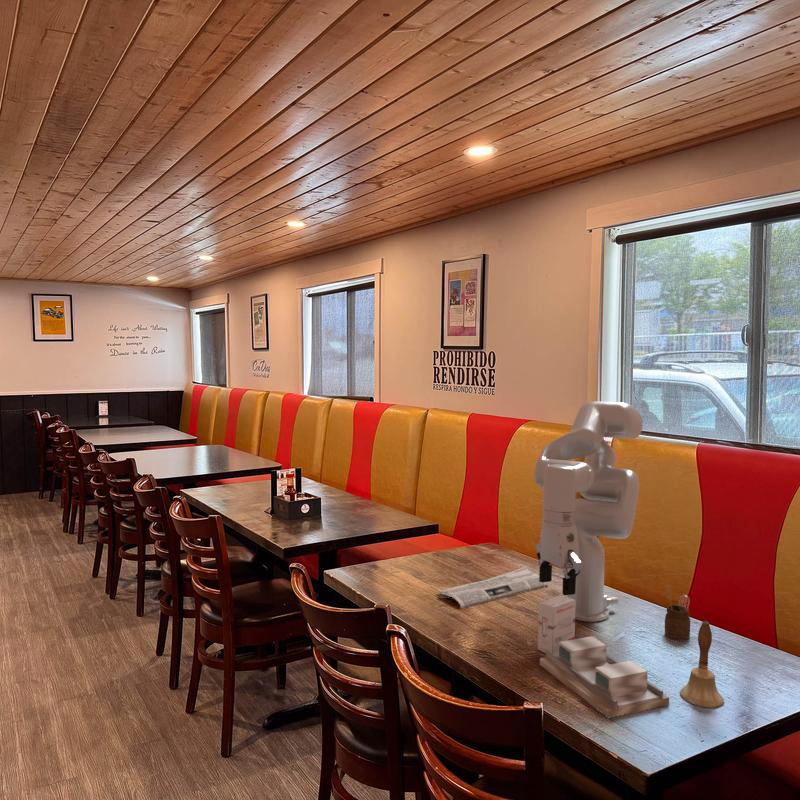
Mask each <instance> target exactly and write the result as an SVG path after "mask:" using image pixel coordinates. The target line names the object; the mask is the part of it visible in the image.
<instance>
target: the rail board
mask: <svg viewBox="0 0 800 800" xmlns="http://www.w3.org/2000/svg"><path fill="white" fill-rule="evenodd" d="M539 666H540V667H542V668H543V669H545V670H546V671H547V672H548V673H549V674H551V675H552V676H553V677H555V678H556V679H557V680H559V682H561V683H562V684H564V686H566V687H567V688H568V687H569V689H570V690H571V689H572V690H573V691H572V690H571V691H572V692H573V693H575V692H576V693H577V694H578V695H577V694H576V693H575V694H576V695H577V696H579V695H580V696H581V697H582V698H584V699H585V700H586V701H587V702H589V703H590V704H591V705H593V706H594V707H595V708H597V709H598V710H599V711H601V712H602V713H603V714H604V715H605V716H607V717H613V716H617V717H620V716H619V715H621V716H625V715H624V714H626V715H629V713H630V714H634V713H633V712H635V713H638V712H637V711H639V712H643V711H648V710H652V709H655V708H661V707H665V706H670V697H669V696H668V695H666V694H664V690H663V689H661V688H659V687H658V686H656V685H655V684H653V683H652V682H650V681H649V680H648V670H646V669H645V668H644V667H642V666H640V665H639V664H638V663H635V662H634V661H632V660H627V661H622V662H620V661H618V660H616V659H615V658H614V657H611V656H610V655H608V654H607V644H606V643H604V642H602V641H601V640H599V639H598V638H596V637H594V636H593V635H592V636H586V637H580V638H575V639H573V640H568V641H562V642H559V652H558V653H552V652H550V651H549V650H546V653H545V656H544V657H540V658H539ZM580 696H579V697H580ZM581 697H580V698H581ZM582 698H581V699H582ZM584 699H583V700H584ZM585 700H584V701H585ZM586 701H585V702H586ZM587 702H586V703H587ZM589 703H588V704H589ZM590 704H589V705H590ZM591 705H590V706H591ZM594 707H593V708H594ZM595 708H594V709H595ZM651 708H652V709H651ZM647 709H648V710H647ZM598 710H597V711H598ZM642 710H643V711H642ZM599 711H598V712H599ZM603 714H602V715H603ZM604 715H603V716H604ZM605 716H604V717H605ZM613 718H614V717H613Z"/></svg>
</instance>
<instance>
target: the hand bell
mask: <svg viewBox="0 0 800 800" xmlns="http://www.w3.org/2000/svg"><path fill="white" fill-rule="evenodd" d="M700 625H701V626H700V627H699V630H698V634H697V643H698V647H699V657H698V658H699V660H698V667H694V668H691V670H690V674H689V679H688V682H687V683H686V684H685V685H684V686H683V687H682V688H680V690H679V695H680V697H681V698H682V699H683V700H685V701H686V702H688V703H690V704H693V705H694V706H699V707H702V708H703V707H704V708H707V709H710V708H711V709H713V708H719V707H721V706H723V705H724V703H725V700H724V697H723V696H722V694H721V693H720V692H719V690H718V689H717V688H718V687H717V683H716V678H715V674H714V672H713V671H712V670H710V669H709V668H708V666H709V651H710V649H711V646H712V642H713V641H712V640H713V634H712V630H711V627H710V622H709V621H707V620H704V621H702V623H701V624H700Z"/></svg>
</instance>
